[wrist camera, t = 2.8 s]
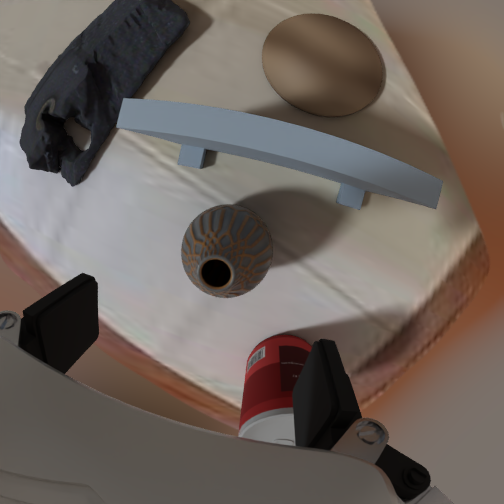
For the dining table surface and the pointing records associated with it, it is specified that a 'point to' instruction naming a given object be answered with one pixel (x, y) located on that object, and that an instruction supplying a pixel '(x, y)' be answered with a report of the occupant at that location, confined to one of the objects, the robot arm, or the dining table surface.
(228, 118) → the screen
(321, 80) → the coaster
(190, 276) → the vase
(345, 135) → the dining table surface
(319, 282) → the dining table surface
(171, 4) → the dark slate chunk
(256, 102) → the dining table surface
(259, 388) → the canned food
